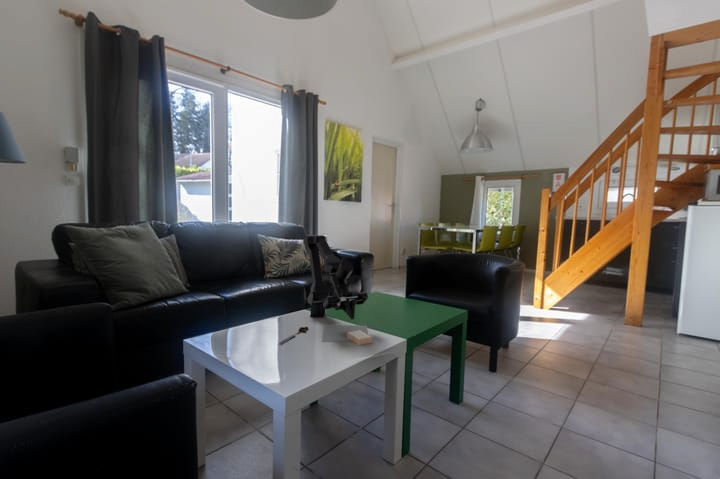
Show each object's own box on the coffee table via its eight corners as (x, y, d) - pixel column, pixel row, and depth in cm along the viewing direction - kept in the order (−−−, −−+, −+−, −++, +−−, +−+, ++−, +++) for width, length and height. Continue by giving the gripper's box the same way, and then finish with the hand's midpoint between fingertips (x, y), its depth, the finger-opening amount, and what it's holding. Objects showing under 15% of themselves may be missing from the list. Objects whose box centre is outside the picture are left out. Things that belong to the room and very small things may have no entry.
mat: (321, 343, 132) (321, 341, 132) (325, 326, 152) (325, 324, 152) (369, 343, 132) (369, 342, 132) (366, 327, 152) (366, 325, 152)
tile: (346, 332, 137) (358, 339, 129) (360, 329, 140) (372, 336, 132) (346, 337, 137) (358, 345, 129) (359, 335, 140) (372, 342, 132)
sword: (277, 351, 124) (277, 345, 124) (268, 349, 126) (268, 343, 125) (312, 330, 147) (312, 325, 147) (305, 329, 148) (305, 324, 148)
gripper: (352, 294, 157) (364, 325, 149) (314, 298, 148) (325, 331, 139) (362, 280, 150) (375, 312, 141) (322, 283, 140) (334, 318, 132)
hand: (353, 318), depth 139 cm, fingers closed
